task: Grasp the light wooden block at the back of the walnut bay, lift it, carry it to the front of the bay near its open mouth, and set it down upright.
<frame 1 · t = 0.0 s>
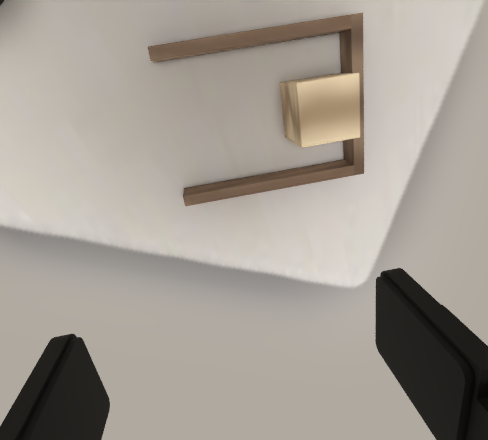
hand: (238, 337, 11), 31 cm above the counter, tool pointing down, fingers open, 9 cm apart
light wooden block: (308, 106, 39), on the counter
bay: (257, 115, 38), on the counter
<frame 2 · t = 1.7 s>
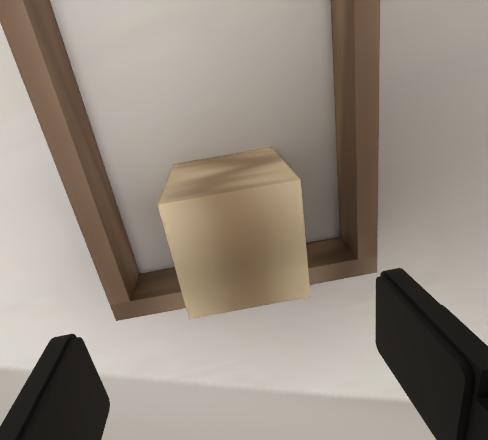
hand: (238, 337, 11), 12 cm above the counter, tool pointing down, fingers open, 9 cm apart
light wooden block: (231, 201, 21), on the counter
bay: (213, 103, 19), on the counter
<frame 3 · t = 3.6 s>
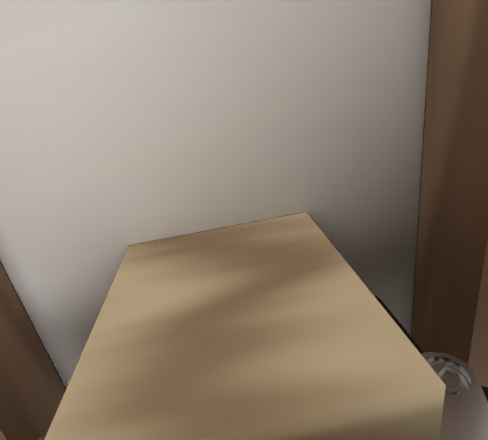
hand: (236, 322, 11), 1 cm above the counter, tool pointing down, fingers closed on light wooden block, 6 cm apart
light wooden block: (233, 301, 12), on the counter, touching gripper
bay: (200, 138, 10), on the counter
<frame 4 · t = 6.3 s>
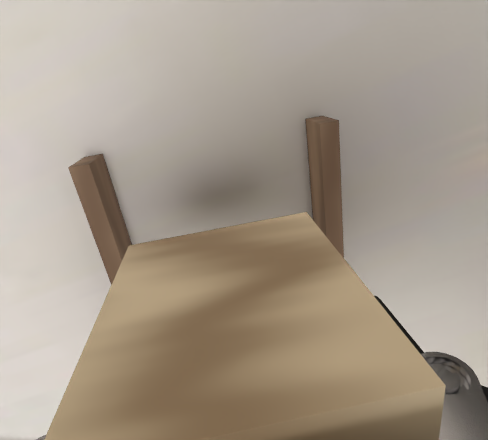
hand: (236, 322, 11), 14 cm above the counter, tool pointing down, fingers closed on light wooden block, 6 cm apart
light wooden block: (233, 301, 12), point 13 cm above the counter, touching gripper
bay: (229, 261, 27), on the counter
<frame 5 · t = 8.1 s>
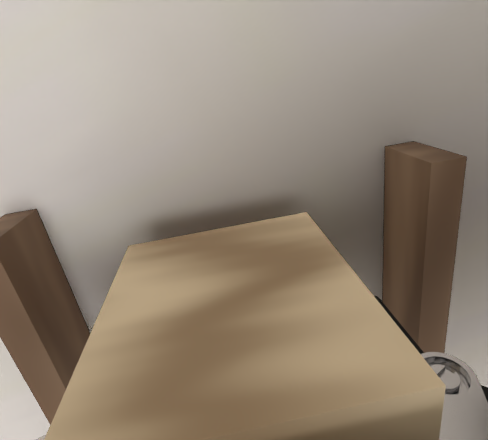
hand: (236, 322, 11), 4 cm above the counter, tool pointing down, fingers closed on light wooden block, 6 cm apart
light wooden block: (233, 301, 12), point 3 cm above the counter, touching gripper
bay: (250, 362, 17), on the counter
when the fingers open (3 cm above the counter, at t = 9.3 s): light wooden block drops 1 cm, on the counter.
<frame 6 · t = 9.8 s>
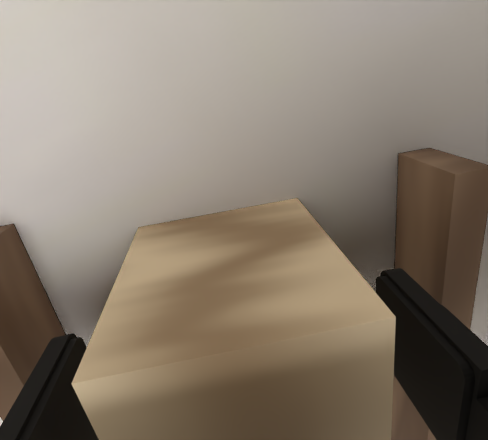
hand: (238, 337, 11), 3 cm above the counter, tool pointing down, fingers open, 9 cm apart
light wooden block: (231, 279, 14), on the counter
bay: (251, 385, 16), on the counter
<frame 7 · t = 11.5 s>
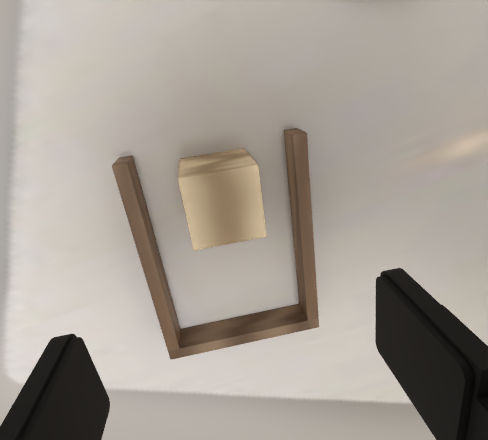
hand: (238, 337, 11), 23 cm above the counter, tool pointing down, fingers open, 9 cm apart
light wooden block: (217, 184, 32), on the counter
bay: (227, 239, 35), on the counter
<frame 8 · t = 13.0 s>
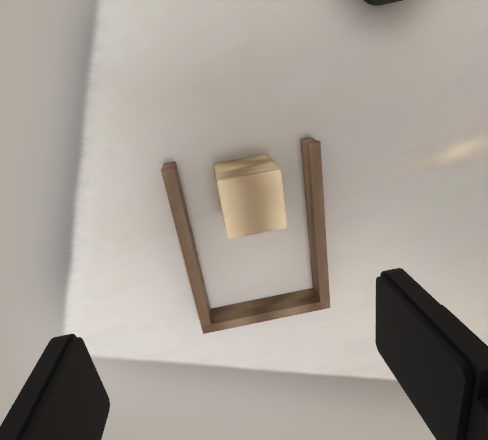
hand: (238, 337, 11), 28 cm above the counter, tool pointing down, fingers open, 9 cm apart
light wooden block: (244, 184, 38), on the counter
bay: (251, 231, 41), on the counter
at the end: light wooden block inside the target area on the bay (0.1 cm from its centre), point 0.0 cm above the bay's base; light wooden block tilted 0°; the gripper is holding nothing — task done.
